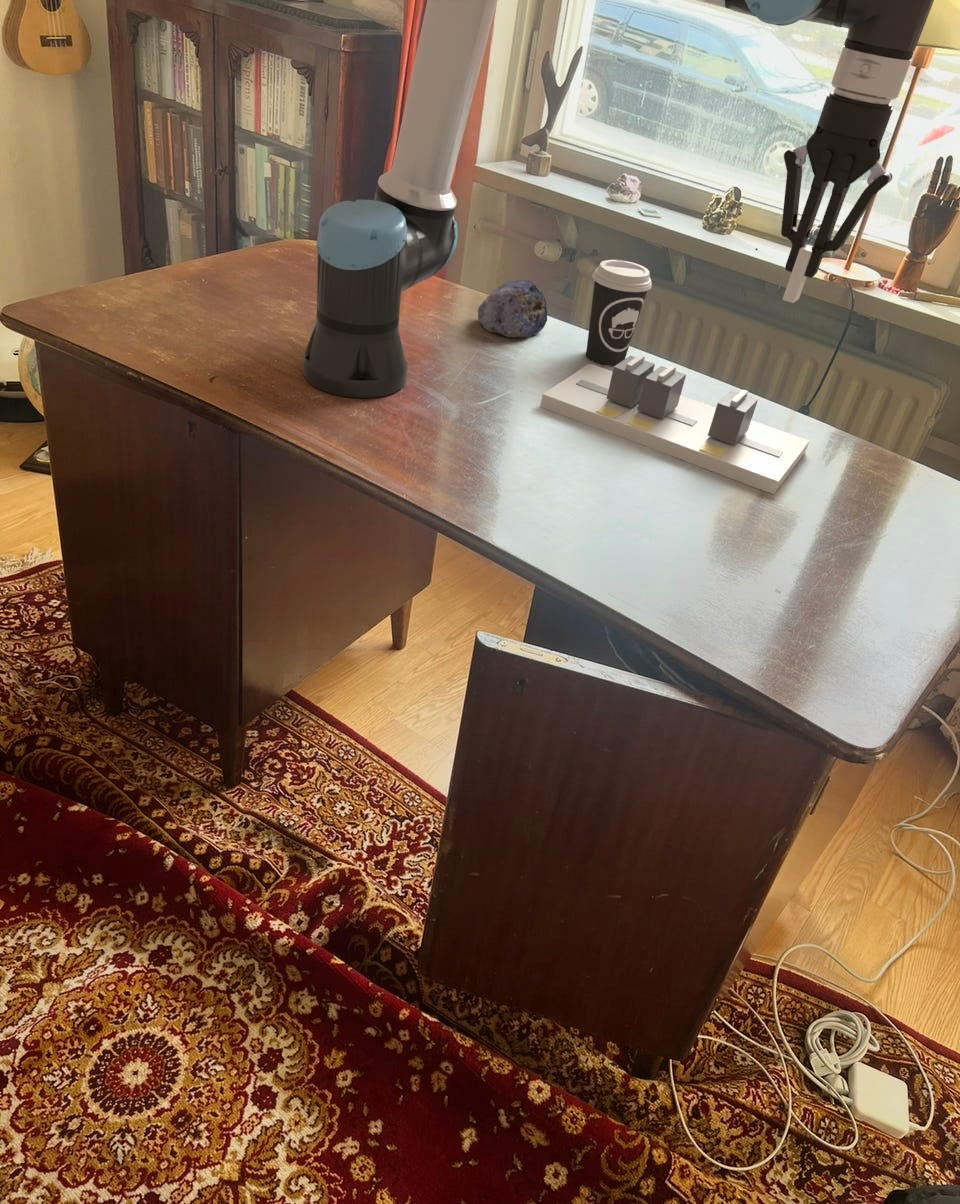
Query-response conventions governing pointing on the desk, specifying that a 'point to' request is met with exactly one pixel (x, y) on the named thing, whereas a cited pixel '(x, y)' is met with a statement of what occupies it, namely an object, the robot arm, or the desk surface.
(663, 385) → the slider
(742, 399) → the slider
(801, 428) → the desk surface
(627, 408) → the console
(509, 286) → the rock
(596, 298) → the coffee cup
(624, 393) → the slider
